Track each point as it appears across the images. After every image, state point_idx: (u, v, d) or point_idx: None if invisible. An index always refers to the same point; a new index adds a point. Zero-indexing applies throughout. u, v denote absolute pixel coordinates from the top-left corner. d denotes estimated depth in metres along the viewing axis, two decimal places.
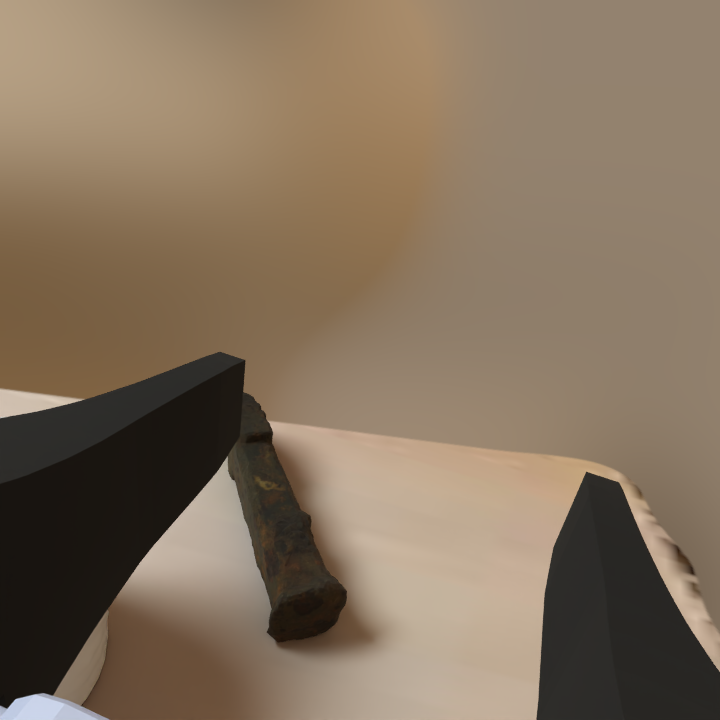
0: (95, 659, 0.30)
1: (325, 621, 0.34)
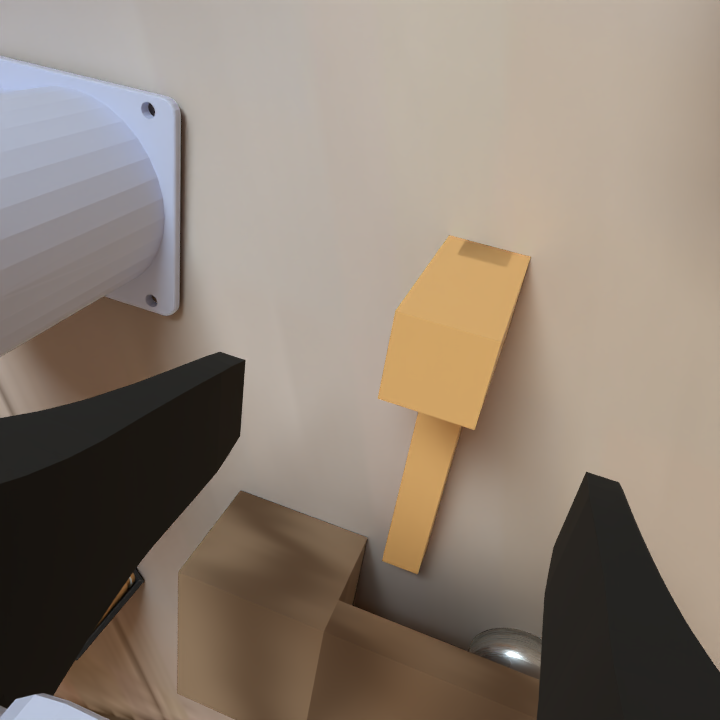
0: None
1: None
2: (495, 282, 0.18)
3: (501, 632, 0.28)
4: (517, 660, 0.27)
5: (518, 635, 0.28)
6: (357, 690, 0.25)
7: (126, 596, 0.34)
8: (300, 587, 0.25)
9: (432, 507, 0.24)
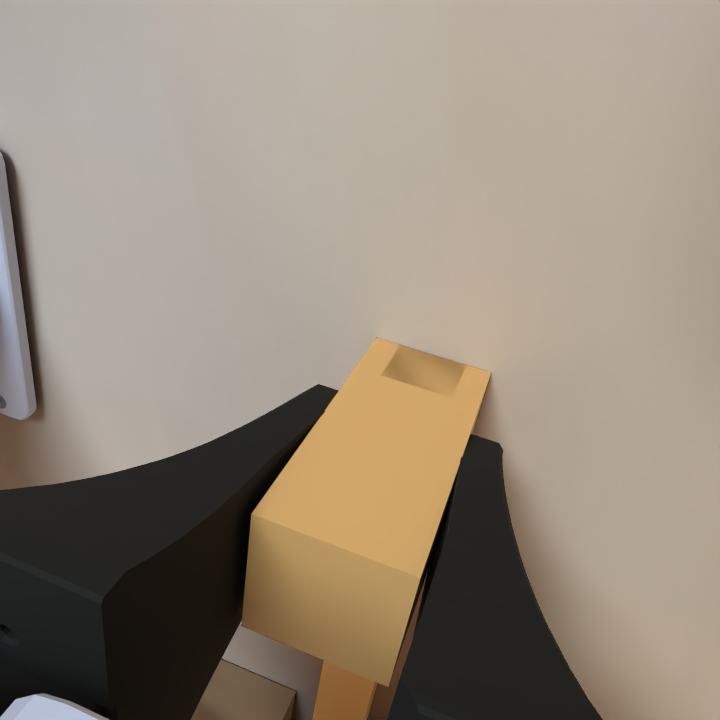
0: None
1: None
2: (431, 430, 0.12)
3: None
4: None
5: None
6: None
7: None
8: None
9: (368, 682, 0.18)
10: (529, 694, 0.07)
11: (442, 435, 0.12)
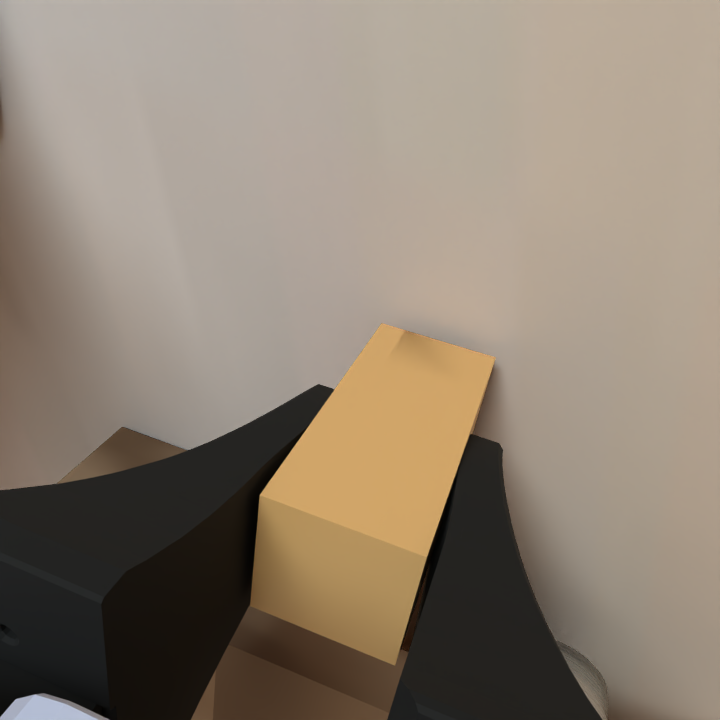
0: None
1: None
2: (437, 414, 0.12)
3: None
4: None
5: None
6: None
7: None
8: None
9: None
10: (530, 694, 0.07)
11: (447, 419, 0.12)
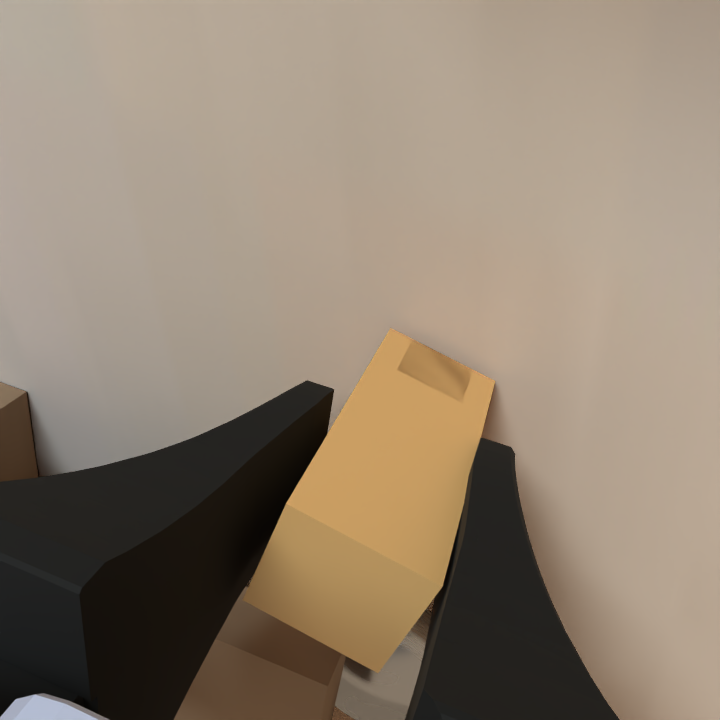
0: None
1: None
2: (445, 435, 0.13)
3: None
4: None
5: None
6: None
7: None
8: None
9: None
10: (553, 703, 0.07)
11: (455, 441, 0.12)
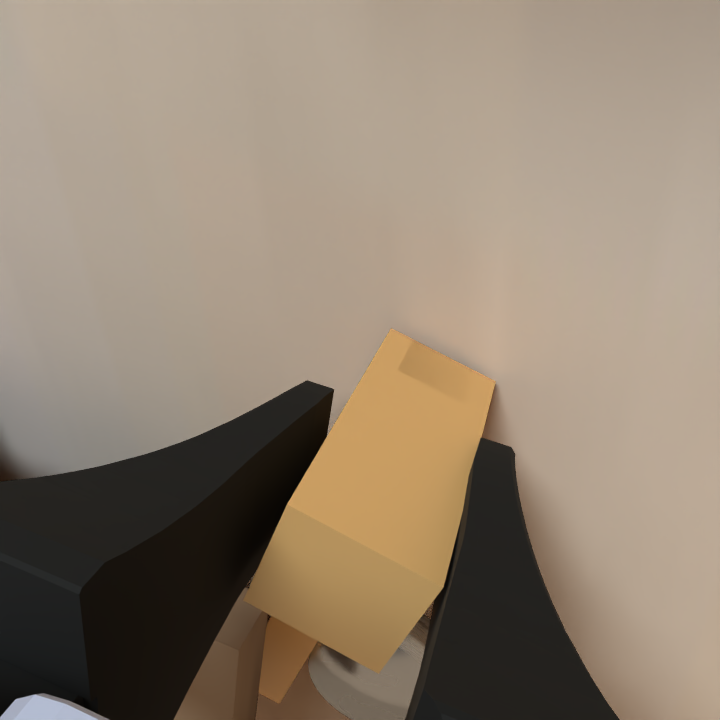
0: None
1: None
2: (445, 436, 0.13)
3: None
4: None
5: None
6: None
7: None
8: None
9: (309, 643, 0.19)
10: (553, 703, 0.07)
11: (455, 442, 0.12)
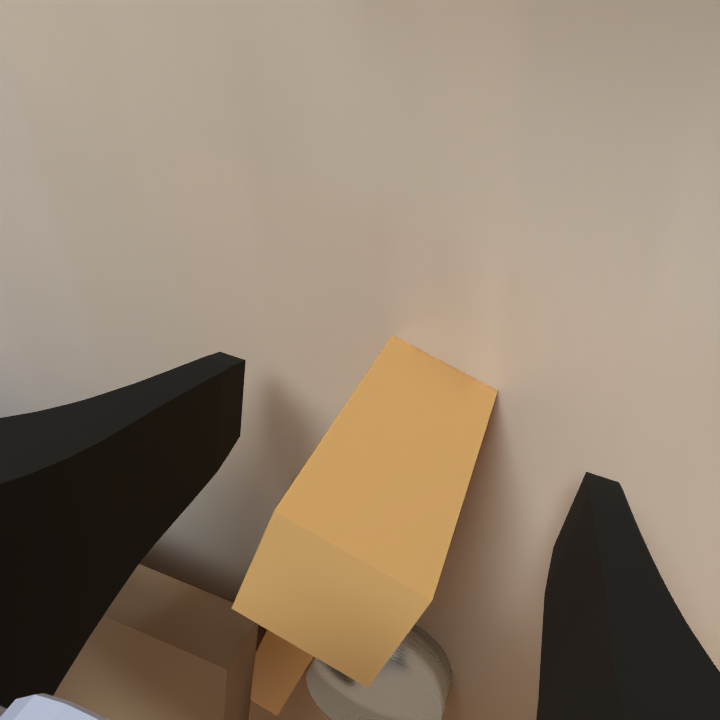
0: None
1: None
2: (443, 444, 0.12)
3: None
4: None
5: None
6: None
7: None
8: None
9: (307, 655, 0.19)
10: None
11: (453, 451, 0.12)
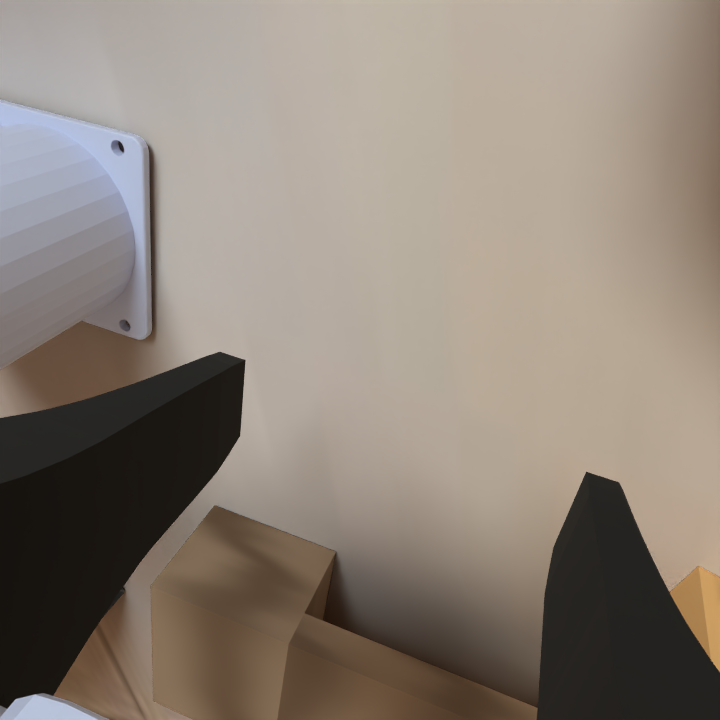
0: None
1: None
2: None
3: None
4: None
5: None
6: (322, 700, 0.26)
7: None
8: (268, 601, 0.27)
9: None
10: None
11: None
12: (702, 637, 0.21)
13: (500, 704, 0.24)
